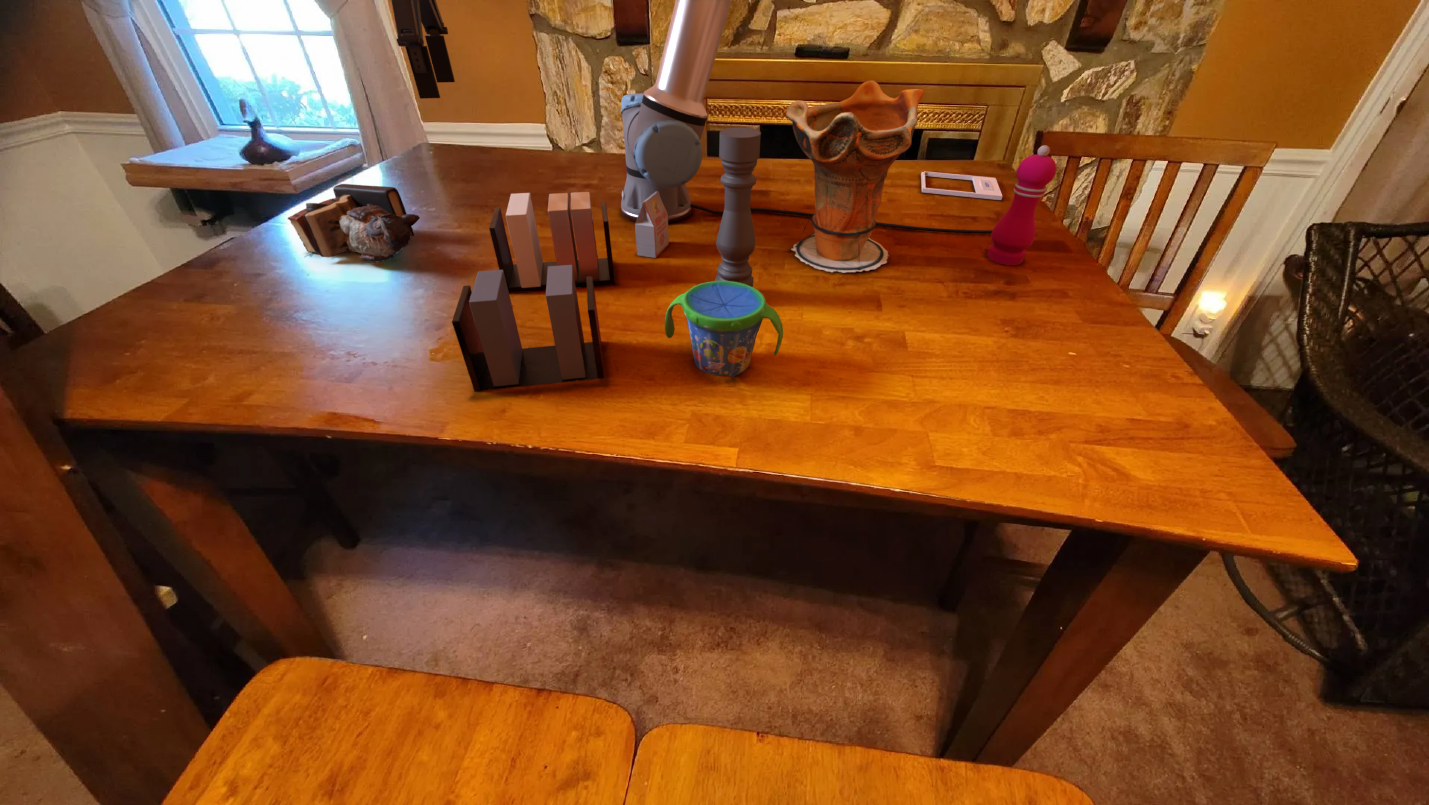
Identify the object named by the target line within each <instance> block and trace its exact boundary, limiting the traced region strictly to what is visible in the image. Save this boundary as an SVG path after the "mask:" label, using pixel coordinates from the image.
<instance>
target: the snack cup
mask: <svg viewBox="0 0 1429 805" xmlns="http://www.w3.org/2000/svg"><path fill="white" fill-rule="evenodd" d="M677 305H679V306H681V308H682V310H683V313H684V316H685V317H686V322H687V327H688V335H689V340H690V346H691V350H692V351H691V352H692V357H693V359H694V360H693V361H694V364H695V366H696V367H697V368H698V369H699V370H700V371H702V372H703V373H706V374H709V375H712V376H723V377H726V376H727V377H728V376H730V379H731V380H732V379H733V378H735V377H736V376H739V375H741V374H743V373H744V372H745V371H746V370H748V368H749V366H750V364H751V360H752V355H753V352H754V348H755V345H756V339H757V337H758V333H759V331H760V327H761V325H762V323H763V319H767V320H769V321H770V322H771V324H772V326H773V327H774V330H775V331H776V333H777V335H778V336H777V342H776V345H775V350H774V352H773V355H774V356H775V357H776V356H777V355H778V353H779V351H780V347H781V345H782V341H783V337H784V327H783V322H782V319H781V317H780V315H779V314H778V312H777V311H776V310H775V309H774V307H772V306H770V305H769V304H768V303H767V301H766V298H765V296H764V294H763V293H762V292H761V291H759V290H758V289H756V288H755V287H754V286H753V287H751V286H749V285H746V284H743V283H738V282H733V281H716V280H712V281H707V282H702V283H699V284H696V285H694V286H693V287H691V288H690V289H688V290H687V291H686V292H684V293H680V295H677V297H675V298H674V299H673V300H672V302H671V303H670V304H669V306H668V307H667V309H666V313H665V316H664V317H665V318H664V330H665V331H664V333H665V335H666V337H667V338H668V339H671V338H673V336H674V334H675V329H676V328H675V322H674V318H673V314H672V313H673V311H674V308H675V307H676V306H677Z"/></svg>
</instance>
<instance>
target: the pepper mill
mask: <svg viewBox="0 0 1429 805" xmlns="http://www.w3.org/2000/svg"><path fill="white" fill-rule="evenodd" d="M1050 151H1051V148H1050V146H1048V145H1046V144H1044V145H1041V146H1040V147H1039V148H1038V149H1037V154H1036V153H1035V154H1031V155H1029V156H1027V157H1025V158H1024V159H1022V161H1021V162H1020V163H1019V165H1018V167H1017V168H1016V179H1017V182H1016V183H1015V184H1014V188H1013V190H1012V191H1013V193H1014V195H1013V199H1012V202H1011V204H1010V207H1009V208H1008V210H1007V211H1006V212H1005V214H1004V215H1003V216H1002V217H1001V218H1000V219H999V220H998V222H997V223H996V224H995V225H994V227H993V229H992V230H993V231H992V234H990V238H991V241H992V243H993V244H991V245H990V246H989V248H988V251H987V254H986V257H987V258H988V259H989V260H991V261H992V262H994V263H997V264H1000V265H1005V266H1017V265H1020V264H1022V263H1023V262H1024V259H1025V256H1026V251H1025V250H1026V249H1028V248H1029V247H1030V246H1032V245H1033V243H1034V241H1035V236H1036V230H1037V229H1036V221H1035V220H1036V219H1035V216H1036V215H1035V214H1036V210H1037V209H1036V208H1037V206H1038V204H1039V201H1040V199H1041V198H1042V197H1045V192H1046V191H1047V184H1050V183H1051V182H1052V181H1053V180H1054V178H1055V177H1056V174H1057V170H1058V169H1057V163H1056V161H1055V160H1054V158H1052V157H1051V156H1049V154H1050Z"/></svg>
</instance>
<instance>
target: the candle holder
mask: <svg viewBox="0 0 1429 805" xmlns="http://www.w3.org/2000/svg"><path fill="white" fill-rule="evenodd" d="M761 135H762V132H761V130H757V129H755V128H750V127H739V126H737V127H728V128H724V129H721V130H720V131H719V141H718V142H719V148H718V150H719V151H718V152H719V153H718V157H719V158H720V163H721V165H722V167H723V170H724V172H725V173H722V175H721V176H720V184H722V186H723V188H724V208H723V211H724V212H723V215H722V216H721V220H720V224H719V228H718V233H717V237H716V242H715V246H716V249H717V250H718V253H719V254H720V257H721V260H722V261H721V262H720V264H719V265H718V266H717V269H716V270H717V271H716V272H717V274H716V276H715V281H733V282H738V283H743V284H746V285H749V286H751V287H753V288H754V278H755V277H754V276H753V270H754V269H753V267H752V266H751V264H750V263H749V261H750V257H751V255H752V254H753V252H754V251H755V248H756V245H757V244H756V243H757V242H756V241H757V238H756V233H755V227H754V222H753V217H752V211H751V209H750V208H751V203H752V202H751V201H752V200H751V199H752V189H753V187H754V186H756V183H757V177H756V176H755V175H754V174H753V172H754V170H755V168H756V166H757V165H758V160H759V159H760V154H761V153H760V152H761Z"/></svg>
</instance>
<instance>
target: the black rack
mask: <svg viewBox="0 0 1429 805" xmlns="http://www.w3.org/2000/svg"><path fill="white" fill-rule="evenodd" d="M591 201H592V200H591V193H590V191H576V192H570V199H569V192H558V193H556V192H555V193H549V194H548V204H547V215H548V221H549V225H550V233H551V238H552V243H553V244H552V245H553V249H554V255H555V261H543V266H542V276H541V286H540V287H527V288H522V287H521V282H520V278H519V273H518V269H517V264H516V263H515V264H514V262H513V257H512V254H511V249H510V245H509V244H510V243H509V240H508V236H507V232H506V226H505V222H504V217H503V213H502V210H501V207H495V208H494V211H493V214H492V217H491V222H490V224H489V227H488V229H489V234H490V239H491V243H492V245H493V250H494V255H495V258H496V262H497V266H498V270H503V271H504V275H505V279H506V283H507V287H508V292H509V294H512V293H526V292H527V293H529V292H540V291H546V286H547V273H548V266H561V265H572V266H573V273H574V279H575V286H576V289H578V288H587V281H586V277H589V276H592V277H593V284H594V287H604V286H615V285H616V279H615V270H614V269H615V268H614V260H613V259H614V258H613V252H612V241H611V232H610V224H609V214H608V209H607V202H606V201H602V202H601V201H600V205H601V214H602V223H603V232H604V240H605V241H604V242H605V249H606V257H601V258H598V257H599V256H598V250H597V242H596V233H595V226H594V217H593V209H592V202H591Z"/></svg>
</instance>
